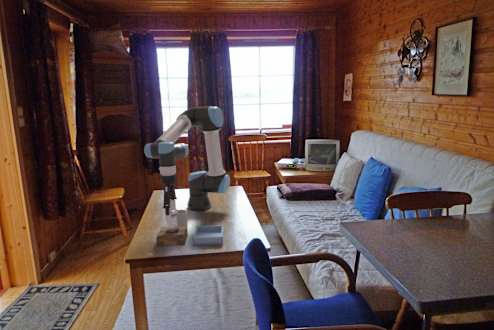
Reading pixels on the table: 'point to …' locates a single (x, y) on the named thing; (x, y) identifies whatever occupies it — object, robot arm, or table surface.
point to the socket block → (172, 237)
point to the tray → (208, 235)
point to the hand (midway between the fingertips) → (171, 216)
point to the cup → (182, 218)
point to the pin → (172, 222)
